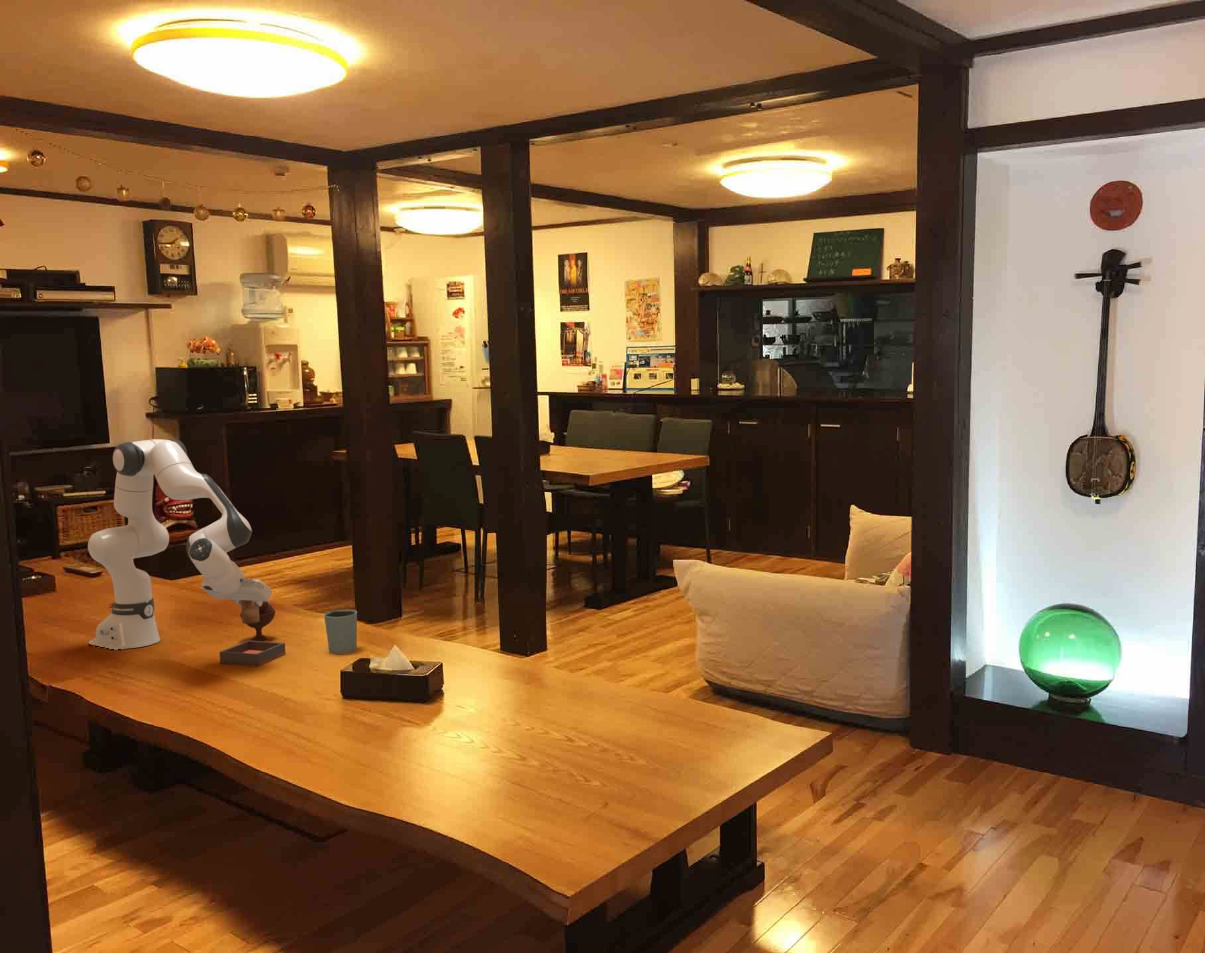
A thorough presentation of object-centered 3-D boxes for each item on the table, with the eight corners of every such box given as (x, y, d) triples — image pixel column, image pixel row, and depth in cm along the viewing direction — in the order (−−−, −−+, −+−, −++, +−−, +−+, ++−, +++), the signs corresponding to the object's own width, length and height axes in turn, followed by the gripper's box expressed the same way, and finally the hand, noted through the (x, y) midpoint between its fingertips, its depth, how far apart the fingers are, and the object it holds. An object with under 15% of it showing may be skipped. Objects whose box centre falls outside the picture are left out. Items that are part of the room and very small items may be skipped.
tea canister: (238, 623, 314) (236, 590, 313) (249, 619, 319) (247, 587, 318) (252, 624, 312) (250, 591, 311) (263, 620, 317) (261, 588, 316)
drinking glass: (339, 656, 317) (337, 618, 316) (319, 651, 323) (317, 614, 322) (365, 648, 325) (363, 611, 324) (345, 644, 331) (343, 607, 330)
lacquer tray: (220, 663, 313) (219, 651, 312) (248, 651, 326) (248, 640, 325) (258, 666, 308) (257, 654, 308) (285, 653, 321) (284, 642, 321)
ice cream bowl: (281, 635, 344) (279, 591, 342) (267, 644, 333) (265, 599, 331) (251, 635, 345) (248, 591, 343) (236, 644, 334) (233, 599, 332)
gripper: (262, 571, 304) (284, 596, 314) (204, 568, 311) (228, 593, 321) (253, 589, 300) (275, 614, 311) (195, 586, 307) (219, 610, 317)
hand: (251, 603), depth 316 cm, fingers closed on tea canister, 5 cm apart
